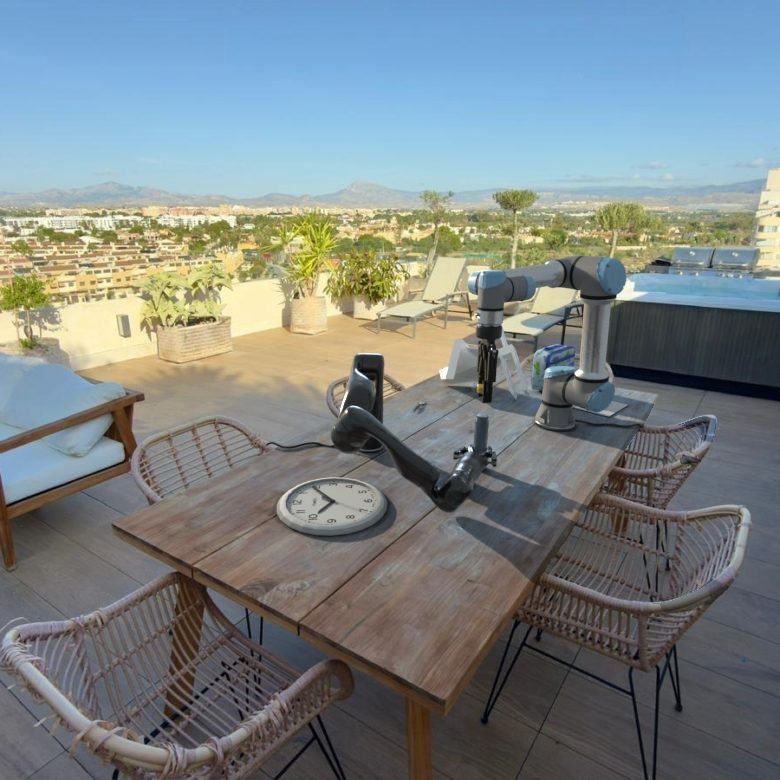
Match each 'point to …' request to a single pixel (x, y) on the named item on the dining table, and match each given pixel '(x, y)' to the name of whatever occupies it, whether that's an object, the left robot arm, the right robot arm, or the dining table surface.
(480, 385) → the lid
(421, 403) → the fork
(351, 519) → the wall clock
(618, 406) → the invitation card
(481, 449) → the clear plastic cylinder
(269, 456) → the dining table surface
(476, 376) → the white plastic object
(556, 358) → the lunch box
